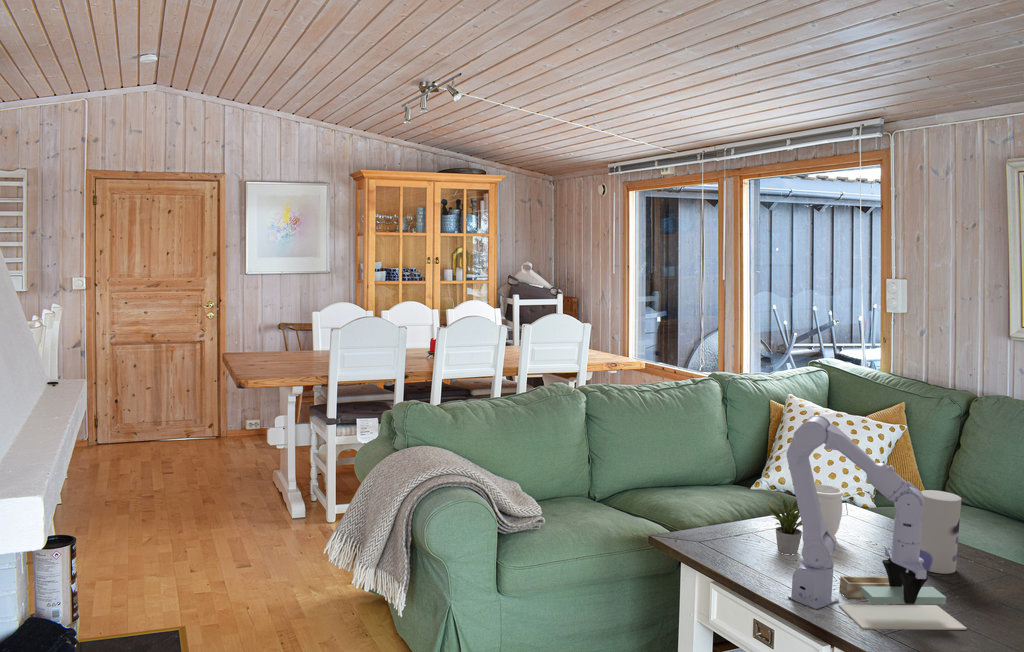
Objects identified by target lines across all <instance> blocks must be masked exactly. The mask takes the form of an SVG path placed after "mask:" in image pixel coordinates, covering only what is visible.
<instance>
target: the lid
mask: <svg viewBox="0 0 1024 652" xmlns="http://www.w3.org/2000/svg"><path fill="white" fill-rule="evenodd" d="M861 594H862V595H863V596H864V597H866V598H867V599H868V600H867V601H869V603H871V605H907V604H906V603H905V602H904V592H903V587H875V586H861ZM946 604H947V596H946V595H944V594H942V593H941V591H939V590H937V589H936V588H935V587H934V586H922V587H921V589H920V591H919V593H918V596H917V599H916V601H915V604H914V605H946Z"/></svg>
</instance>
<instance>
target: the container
mask: <svg viewBox="0 0 1024 652" xmlns="http://www.w3.org/2000/svg"><path fill="white" fill-rule="evenodd" d="M920 491H921V490H920ZM921 493H922V494H923V497H924V503H923V511H922V512H921V514H922V519H921V522H922V529H921V542H920V556H919V557H920V558H922V559H923V560H924V563H921V564H922V566H923V568H924V569H925V570H926V571H927V572H931V573H936V574H953V573H955V572H956V570H957V561H958V560H957V559H958V547H959V546H958V545H959V535H960V534H959V533H960V520H961V507H962V497H961V496H960V495H958V494H955V493H952V492H947V491H943V490H933V489H928V490H927V489H926V490H922V491H921Z"/></svg>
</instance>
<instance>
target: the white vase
mask: <svg viewBox="0 0 1024 652" xmlns="http://www.w3.org/2000/svg"><path fill="white" fill-rule="evenodd" d="M815 487H816V491H817V495H818V500H819V504H820V508H821V513H822V517H823V521H824V523H825V524H826V526H827V530H828V532H829V534H830V535H831V536H832V538H833V539H834V542H837V537H836V534H837V532H838V531H839V528H840V523H841V520H842V517H843V516H842V515H843V500H842V497H843V496H844V491H843V489H841V488H838V487H835V486H831V485H825V484H815Z"/></svg>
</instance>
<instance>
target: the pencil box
mask: <svg viewBox="0 0 1024 652" xmlns="http://www.w3.org/2000/svg"><path fill="white" fill-rule="evenodd" d="M861 586H875V587H890V585H889V580H888V576H851V575H850V576H846V575H845V576H840V578H839V593H840V594H841V595H842V594H843V595H844V596H843V595H842V596H843V597H844V598H847V599H846V600H850V599H856V600H857V599H858V601H859V600H860V601H861V599H866V600H867V601H869V600H868V599H867V598H866V597H864V596H863V595H862V594H861ZM902 587H903V585H902ZM866 600H865V601H866Z"/></svg>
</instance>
